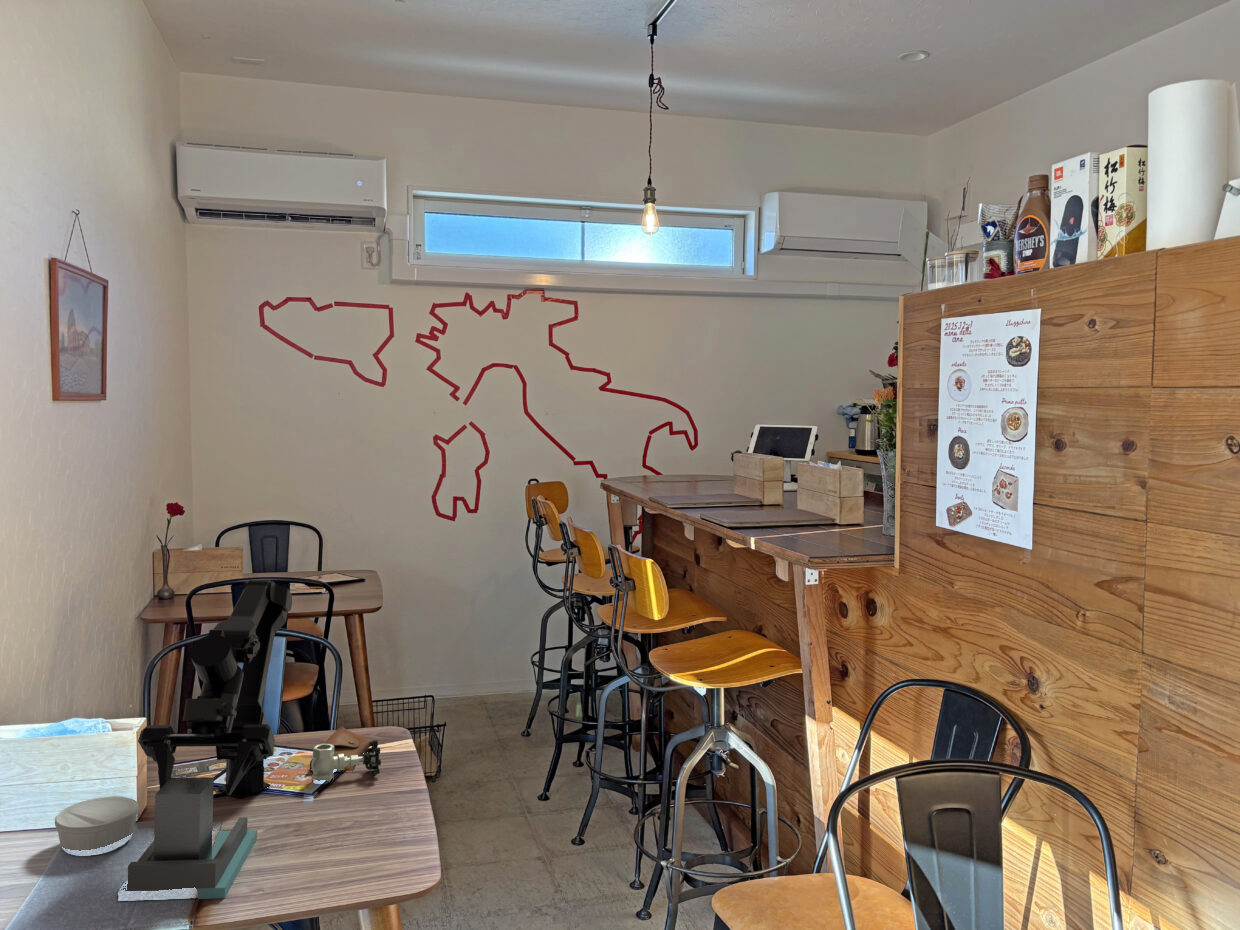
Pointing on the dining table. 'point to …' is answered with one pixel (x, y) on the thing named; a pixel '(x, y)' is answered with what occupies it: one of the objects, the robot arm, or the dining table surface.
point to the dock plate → (196, 866)
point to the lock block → (184, 819)
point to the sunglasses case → (347, 744)
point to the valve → (342, 760)
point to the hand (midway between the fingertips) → (195, 795)
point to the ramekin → (96, 822)
